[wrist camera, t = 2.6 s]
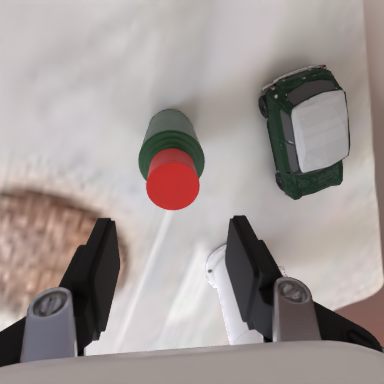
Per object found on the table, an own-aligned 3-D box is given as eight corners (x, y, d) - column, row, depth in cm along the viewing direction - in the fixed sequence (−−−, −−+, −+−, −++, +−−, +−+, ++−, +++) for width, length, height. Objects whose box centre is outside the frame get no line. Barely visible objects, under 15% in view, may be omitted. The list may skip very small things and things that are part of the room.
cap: (196, 148, 21) (201, 162, 18) (194, 190, 23) (198, 210, 20) (148, 147, 21) (144, 161, 17) (150, 190, 23) (147, 210, 19)
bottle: (193, 110, 34) (216, 145, 18) (191, 154, 37) (210, 218, 21) (147, 108, 33) (128, 144, 17) (149, 153, 36) (134, 219, 20)
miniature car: (278, 192, 41) (301, 218, 34) (253, 84, 33) (277, 88, 26) (329, 174, 40) (364, 196, 33) (317, 58, 32) (359, 55, 25)
